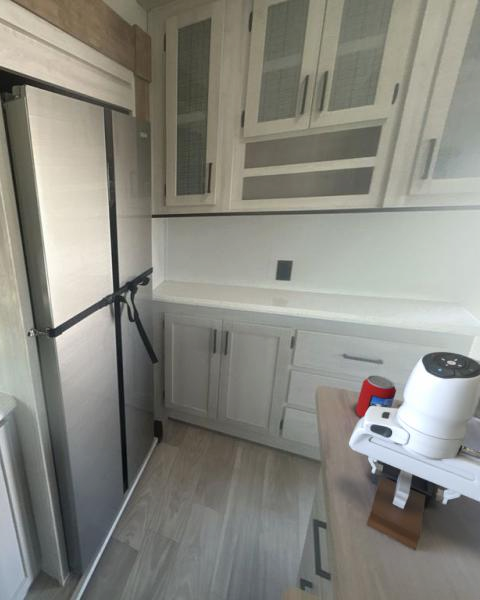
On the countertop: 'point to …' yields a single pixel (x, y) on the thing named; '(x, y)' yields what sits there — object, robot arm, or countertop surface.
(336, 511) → the countertop surface
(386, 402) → the beverage can
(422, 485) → the sink basin
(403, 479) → the white red-tipped brick
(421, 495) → the tap plinth
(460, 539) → the countertop surface
